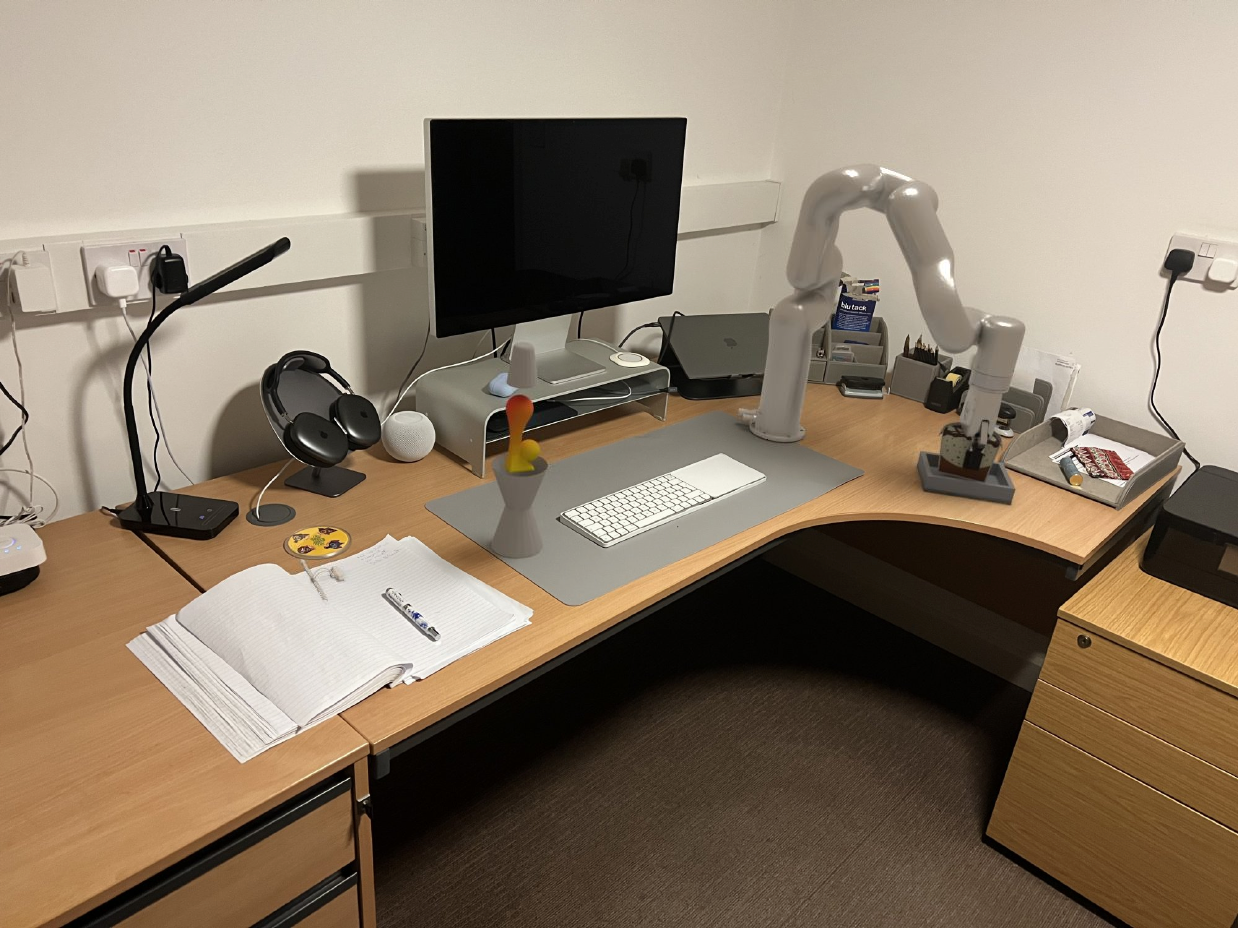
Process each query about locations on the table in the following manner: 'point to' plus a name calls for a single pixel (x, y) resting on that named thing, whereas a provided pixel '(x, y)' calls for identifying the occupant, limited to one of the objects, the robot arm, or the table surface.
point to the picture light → (334, 573)
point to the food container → (955, 451)
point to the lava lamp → (519, 465)
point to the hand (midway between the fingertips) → (967, 461)
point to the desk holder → (965, 481)
